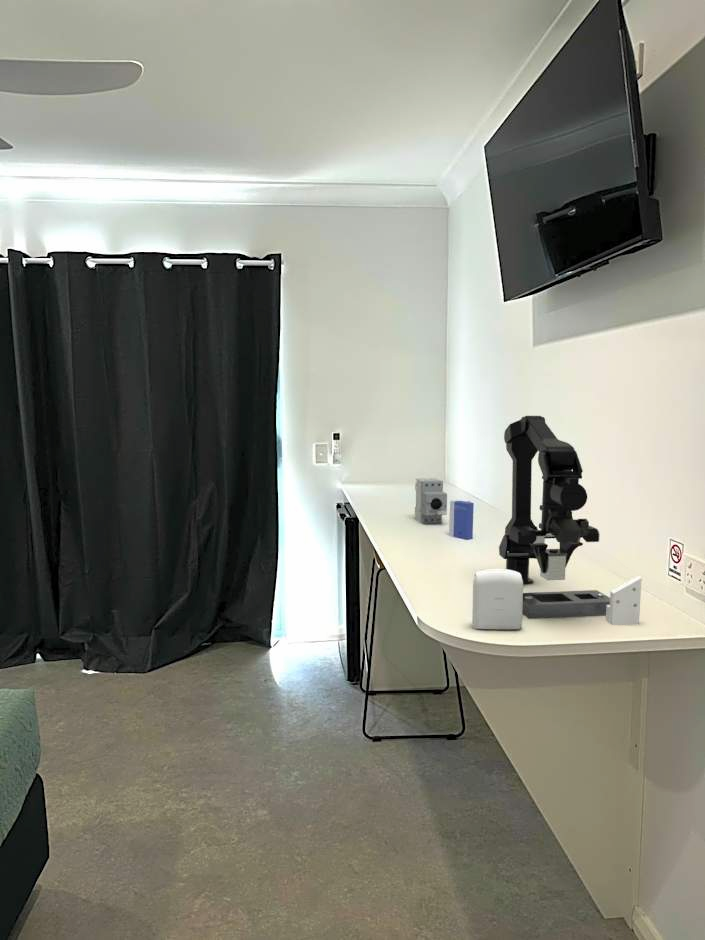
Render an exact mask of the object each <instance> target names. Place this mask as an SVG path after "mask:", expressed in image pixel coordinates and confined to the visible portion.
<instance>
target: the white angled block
mask: <svg viewBox="0 0 705 940" xmlns="http://www.w3.org/2000/svg"><path fill="white" fill-rule="evenodd" d="M642 580H643V579H642V577H641V576H639V575H637V576H636V577H633V578H632V579H629V580H628V581H626V582H625V583H623V584H621V585H619V586H617V587H616V588H613V589H612V590H610V595H609V598H610V605H606V615H605V620H606V619H607V622H609V623H610V624H611V625H640V616H641V614H640V613H641V594H642Z"/></svg>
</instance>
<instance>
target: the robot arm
mask: <svg viewBox="0 0 705 940" xmlns="http://www.w3.org/2000/svg"><path fill="white" fill-rule="evenodd" d="M503 438H504V439H503V440H504V443H505V448H506V452H507V453H508V455H509V457H510V458H511V460H512V472H511V473H512V477H511V478H512V480H511V482H512V484H511V485H512V487H511V488H512V489H511V492H512V493H511V499H512V500H511V518H510V519H509V521H508V523H507V524H506V525H505V529H504V535H503V537H502V539H501V541H500V544H499V546H498V552H499V553H498V555H499V556H500V557H501V558H502V559H503V560H506V561H505V569H508V570H513V571H516V572H519V573H520V574H521V576H522V580H523V584H534V580H533V579H531V578H530V576H529V575H530V559H534V560H535V559H536V560H537V564H538V567H539V569H541V572H542V573H545V570H546V549H548V547H549V545H548V544H547V543H545V541H546V539H556V541H557V542H558V543H559V549H560V550H562V551H564V552H566V553H567V556H566V567H567V565H568V563H569V561H570V559H571V556H572V554H573V553H574V551H575V550H576V549H577V548H578V547H582V546H583V545H584V543H583V542H581V538H582V539H583V540H584V541H585V542H586V543H598V542H600V536H601V535H600V531H599V530H598V528H596V527H594V526H592V525H590V524H589V523H590V522H589V521H588V519H587V518H577V519H574V518H573V512H575V511H579V510H581V509H582V508H583V507H585V505H586V503H587V501H588V493H587V490H586V489H585V487H584V486H583V485H582V484H579V483H580V482H579V481H580V480H582V479H583V475H582V474H583V472H584V471H583V468H582V467H583V466H582V464H581V462H580V459H579V456H578V452H577V450H575V448H574V446H573V445H571V444H570V443H568V442H567V441H564V440H560V439H558V438H557V436H556V435H555V433H554V432H553V431H552V429H551V428H550V427H549V426H548V424H547V422H546V418H545V417H544V416H541V415H525V416H522V417H521V418H520V419H519V420H517V421H514V422H512V423H510V424H509V425H508V426H507V427H506V429H505V430H504V435H503ZM537 453H538V455H537ZM536 455H537V463H538V466H539V468H540V471H541V474H542V476H541V479H542V498H541V499H542V501H541V503H542V504H540V505H539V510H540V511H541V520H540V521H541V523H538V526H536V525H535V524H534V522H533V520H532V471H533V470H532V467H533V465H532V463H533V459H534V458H535V456H536Z"/></svg>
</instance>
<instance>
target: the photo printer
mask: <svg viewBox="0 0 705 940" xmlns="http://www.w3.org/2000/svg"><path fill="white" fill-rule="evenodd" d="M523 593H524V583H523V580H522V576H521V574H520V573H519V572H516V571H513V570H508V569H506V568H488V569H483V570H479V571H477V572H475V573H474V577H473V581H472V612H471V614H472V616H471V617H472V618H471V619H472V622H471V623H472V624H471V627H473V629H476V630H521V629H522V628H523V613H522V607H523Z"/></svg>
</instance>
